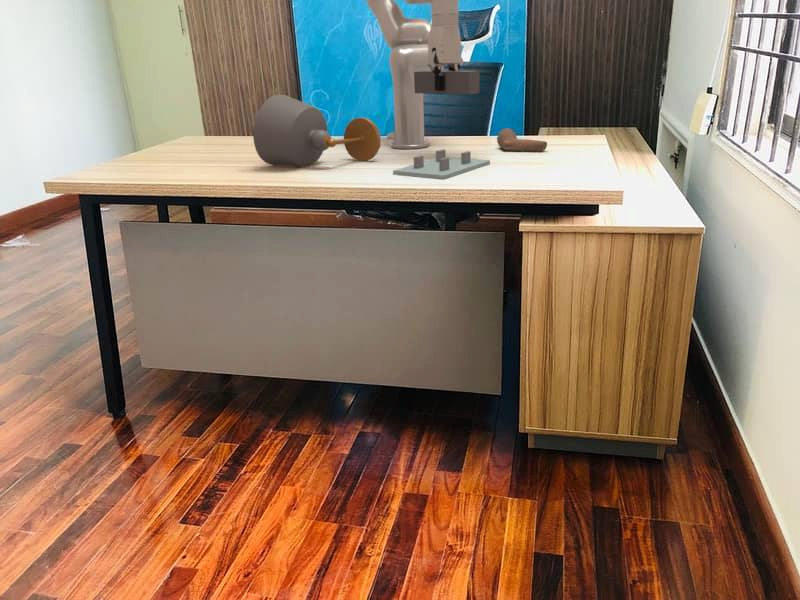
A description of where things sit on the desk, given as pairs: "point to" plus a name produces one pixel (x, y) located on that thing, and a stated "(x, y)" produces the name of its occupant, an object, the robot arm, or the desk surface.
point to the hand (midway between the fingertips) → (446, 89)
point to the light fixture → (306, 134)
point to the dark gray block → (448, 82)
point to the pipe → (518, 142)
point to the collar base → (441, 166)
